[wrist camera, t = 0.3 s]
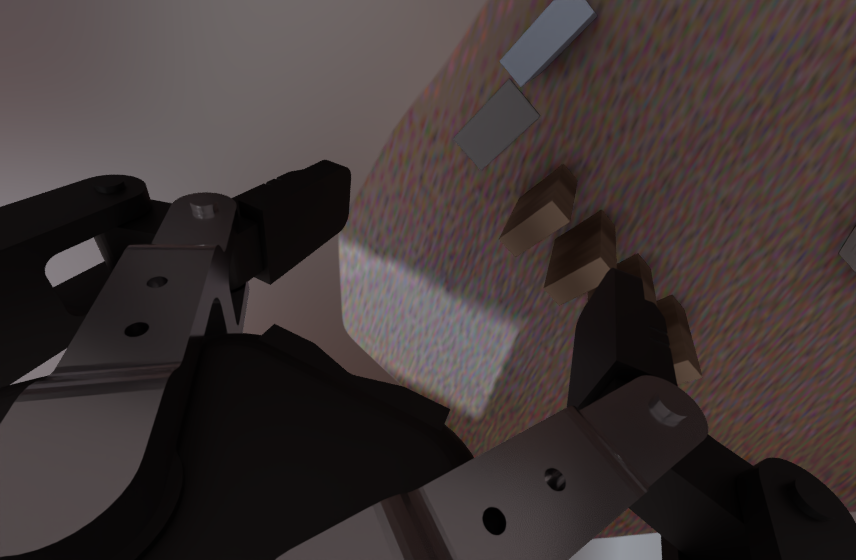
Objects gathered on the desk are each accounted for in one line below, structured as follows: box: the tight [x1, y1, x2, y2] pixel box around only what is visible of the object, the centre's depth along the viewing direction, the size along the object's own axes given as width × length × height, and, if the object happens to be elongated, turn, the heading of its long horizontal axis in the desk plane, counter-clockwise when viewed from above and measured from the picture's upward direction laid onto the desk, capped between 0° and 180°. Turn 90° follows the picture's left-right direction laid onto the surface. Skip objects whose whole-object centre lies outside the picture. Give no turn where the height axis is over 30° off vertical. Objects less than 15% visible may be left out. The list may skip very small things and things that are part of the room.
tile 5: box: [656, 295, 703, 384], centre depth 33 cm, size 5×2×9 cm, turn 137°
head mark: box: [453, 79, 540, 170], centre depth 33 cm, size 7×4×1 cm, turn 137°
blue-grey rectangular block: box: [500, 0, 597, 87], centre depth 24 cm, size 5×2×9 cm, turn 137°
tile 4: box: [588, 254, 657, 306], centre depth 32 cm, size 5×2×9 cm, turn 137°
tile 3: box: [544, 210, 617, 306], centre depth 32 cm, size 5×2×9 cm, turn 137°
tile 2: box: [499, 164, 578, 257], centre depth 31 cm, size 5×2×9 cm, turn 137°
